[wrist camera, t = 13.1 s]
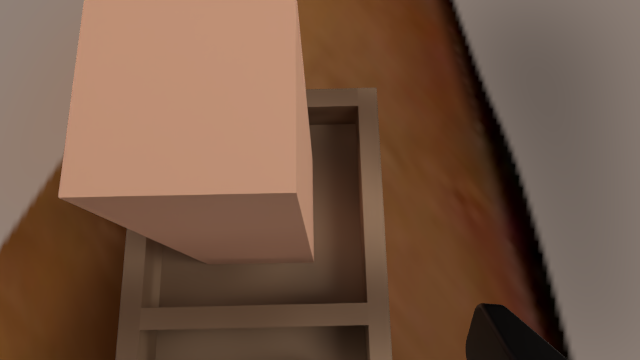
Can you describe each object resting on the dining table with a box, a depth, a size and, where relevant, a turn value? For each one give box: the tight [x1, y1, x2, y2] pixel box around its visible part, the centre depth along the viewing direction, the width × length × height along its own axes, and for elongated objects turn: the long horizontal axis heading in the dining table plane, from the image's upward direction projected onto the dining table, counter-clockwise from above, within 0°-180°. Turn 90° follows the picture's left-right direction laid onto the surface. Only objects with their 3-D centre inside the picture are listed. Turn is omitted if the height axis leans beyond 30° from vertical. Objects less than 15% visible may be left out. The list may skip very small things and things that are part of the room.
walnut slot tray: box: [115, 88, 392, 360], centre depth 20 cm, size 18×10×3 cm, turn 1°
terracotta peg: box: [58, 0, 314, 265], centre depth 16 cm, size 4×4×12 cm
